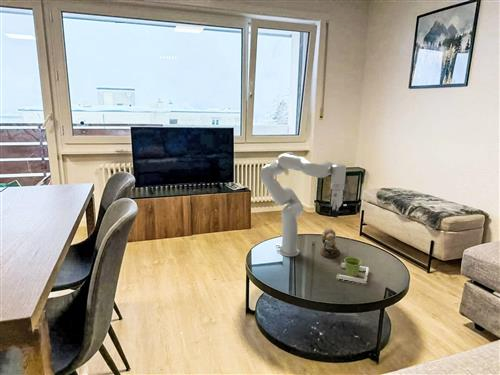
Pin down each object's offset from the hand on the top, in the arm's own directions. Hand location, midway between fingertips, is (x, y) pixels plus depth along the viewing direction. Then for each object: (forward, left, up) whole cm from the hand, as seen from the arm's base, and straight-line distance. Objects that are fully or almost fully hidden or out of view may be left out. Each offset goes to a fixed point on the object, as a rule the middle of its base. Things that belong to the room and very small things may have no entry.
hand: (334, 216), depth 195 cm
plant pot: (+13, -10, -30) cm, 34 cm away
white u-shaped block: (+13, -10, -30) cm, 34 cm away
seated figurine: (-4, +13, -30) cm, 33 cm away
